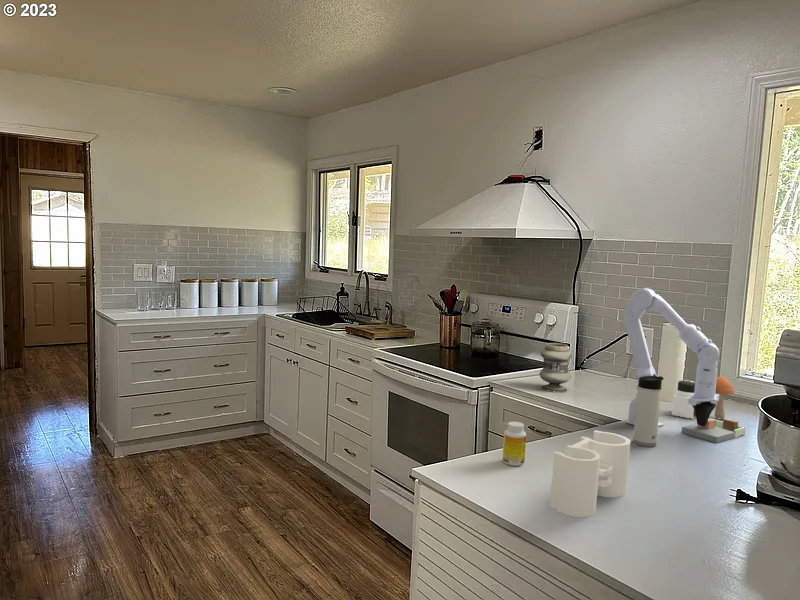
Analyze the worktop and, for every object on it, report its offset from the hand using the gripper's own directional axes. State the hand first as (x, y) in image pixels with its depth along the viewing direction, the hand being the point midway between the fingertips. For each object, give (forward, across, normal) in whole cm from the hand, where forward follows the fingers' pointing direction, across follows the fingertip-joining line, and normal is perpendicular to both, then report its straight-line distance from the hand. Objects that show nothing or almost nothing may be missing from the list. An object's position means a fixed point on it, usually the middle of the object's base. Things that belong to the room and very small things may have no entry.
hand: (701, 425), depth 189 cm
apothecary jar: (+3, +2, +60) cm, 61 cm away
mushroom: (+3, +23, +7) cm, 24 cm away
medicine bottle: (+3, +16, +15) cm, 22 cm away
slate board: (+3, +1, -2) cm, 3 cm away
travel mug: (+3, -26, +2) cm, 26 cm away
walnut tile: (0, +8, -4) cm, 9 cm away
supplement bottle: (+3, -73, +9) cm, 73 cm away
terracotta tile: (+1, +3, 0) cm, 3 cm away
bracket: (+3, -73, -15) cm, 74 cm away
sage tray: (+3, +9, -2) cm, 10 cm away
